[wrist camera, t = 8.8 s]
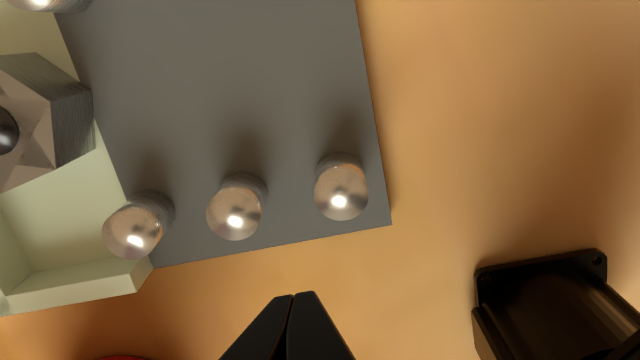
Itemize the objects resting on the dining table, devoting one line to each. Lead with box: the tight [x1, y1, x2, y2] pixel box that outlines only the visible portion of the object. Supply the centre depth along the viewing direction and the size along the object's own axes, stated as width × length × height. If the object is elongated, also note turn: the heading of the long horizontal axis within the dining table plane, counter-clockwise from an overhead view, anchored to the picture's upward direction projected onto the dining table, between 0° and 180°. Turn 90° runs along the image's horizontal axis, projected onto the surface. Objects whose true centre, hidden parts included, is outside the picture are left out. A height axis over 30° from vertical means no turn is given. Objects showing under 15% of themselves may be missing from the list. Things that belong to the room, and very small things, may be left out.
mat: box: [53, 0, 392, 269], centre depth 18 cm, size 12×16×1 cm
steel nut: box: [0, 52, 96, 194], centre depth 17 cm, size 5×4×3 cm
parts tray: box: [0, 0, 153, 317], centre depth 18 cm, size 7×16×3 cm, turn 12°
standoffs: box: [5, 0, 369, 260], centre depth 17 cm, size 11×12×3 cm
